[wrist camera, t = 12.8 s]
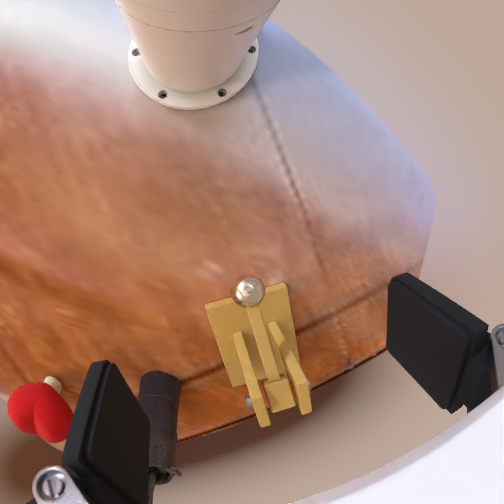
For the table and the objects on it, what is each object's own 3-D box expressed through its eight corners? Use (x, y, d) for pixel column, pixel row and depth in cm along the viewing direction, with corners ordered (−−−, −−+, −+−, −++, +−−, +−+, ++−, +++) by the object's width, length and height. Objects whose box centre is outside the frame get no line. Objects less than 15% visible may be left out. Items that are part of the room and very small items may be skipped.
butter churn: (195, 347, 34) (233, 594, 8) (208, 402, 37) (248, 599, 11) (122, 355, 32) (90, 586, 6) (143, 408, 35) (142, 600, 9)
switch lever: (226, 280, 29) (225, 276, 26) (258, 272, 30) (261, 266, 26) (263, 406, 27) (267, 416, 24) (295, 396, 27) (302, 405, 24)
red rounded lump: (85, 371, 32) (66, 427, 23) (85, 405, 34) (71, 459, 24) (24, 350, 30) (-5, 398, 20) (29, 386, 31) (7, 434, 22)
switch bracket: (204, 303, 32) (214, 373, 21) (283, 281, 34) (327, 339, 23) (231, 381, 36) (248, 452, 25) (297, 361, 38) (332, 425, 27)
